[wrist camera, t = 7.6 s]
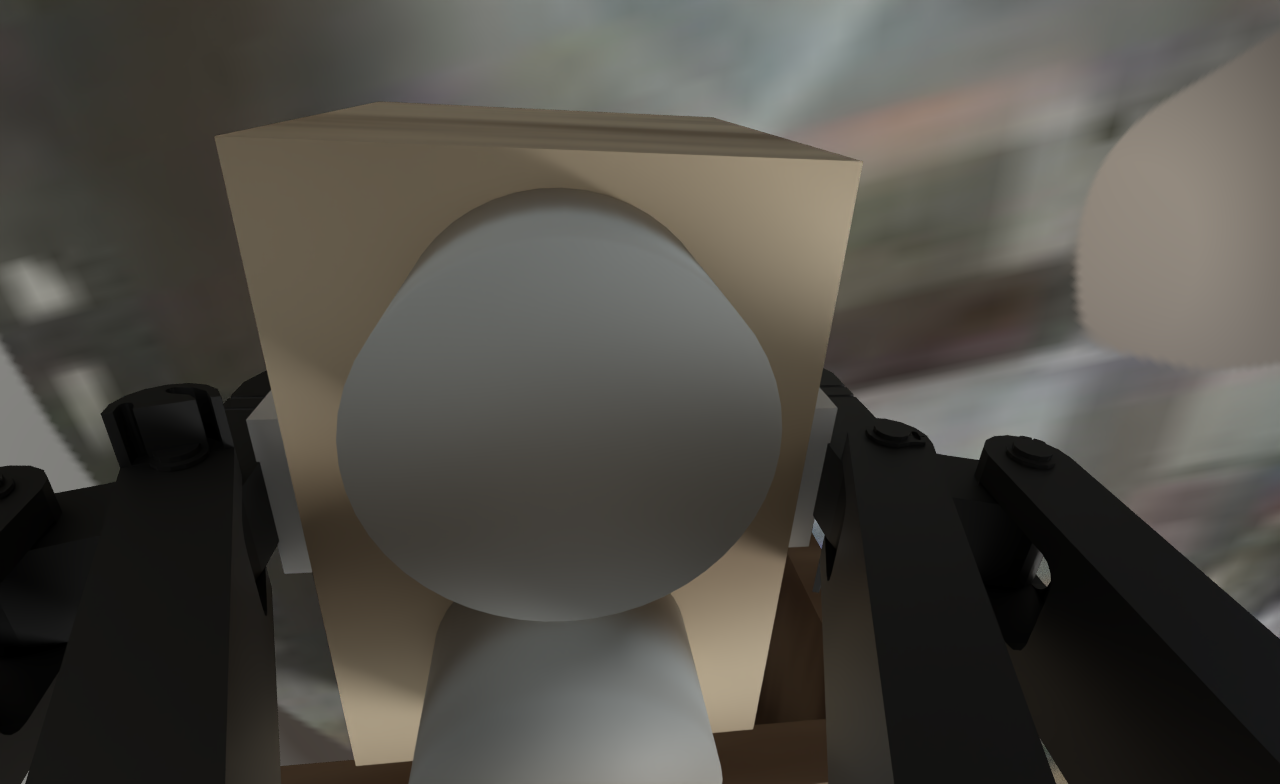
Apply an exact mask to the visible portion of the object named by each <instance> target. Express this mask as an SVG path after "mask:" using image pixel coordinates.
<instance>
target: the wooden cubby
mask: <svg viewBox="0 0 1280 784" xmlns="http://www.w3.org/2000/svg"><path fill="white" fill-rule="evenodd" d="M821 550H822V549H821V548H820V546H819V544H818V542H817V541H816V539H815V537H814V535H813V534H812V533H811V538H810V542H809V546H807V547H788V552H787V557H786V562H785V567H784V572H783V578H782V583H781V588H780V593H779V598H778V603H777V609H776V614H775V619H774V624H773V629H772V634H771V640H770V645H769V650H768V655H767V660H766V665H765V671H764V676H763V681H762V686H761V691H760V696H759V701H758V707H757V712H756V717H755V722H754V727H753V729H750V730H740V731H729V732H718V733H712V734H713V737H714V741H715V745H716V749H717V753H718V757H719V761H720V765H721V771H722V778H723V780H722V784H828V762H827V735H826V708H825V681H824V655H823V628H822V601H821V588H820V591H819V593H816V592H812V591H813V586H814V582H815V577H816V572H817V568H818V563H819V559H820V554H821ZM412 762H413V761H405V762H395V763H384V764H373V765H362V766H356V764H355V760H347V761H335V762H325V763H313V764H300V765H289V766H280V769H281V784H409V778H410V773H411V768H412Z"/></svg>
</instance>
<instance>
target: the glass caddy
mask: <svg viewBox="0 0 1280 784" xmlns="http://www.w3.org/2000/svg"><path fill="white" fill-rule="evenodd" d="M214 138H215V142H216V147H217V151H218V155H219V160H220V164H221V169H222V173H223V178H224V182H225V187H226V191H227V195H228V200H229V204H230V209H231V213H232V218H233V222H234V227H235V231H236V235H237V240H238V244H239V249H240V253H241V258H242V262H243V266H244V271H245V275H246V280H247V284H248V289H249V293H250V298H251V302H252V306H253V311H254V315H255V320H256V324H257V329H258V333H259V338H260V342H261V346H262V351H263V355H264V360H265V364H266V369H267V373H268V378H269V382H270V386H271V391H272V395H273V400H274V404H275V409H276V413H277V418H278V422H279V426H280V431H281V435H282V440H283V444H284V449H285V453H286V458H287V462H288V466H289V471H290V475H291V480H292V484H293V489H294V493H295V498H296V502H297V506H298V511H299V515H300V520H301V524H302V529H303V533H304V537H305V542H306V546H307V551H308V555H309V560H310V564H311V569H312V573H313V577H314V582H315V586H316V591H317V595H318V600H319V604H320V609H321V613H322V617H323V622H324V626H325V631H326V635H327V640H328V644H329V649H330V653H331V657H332V662H333V666H334V671H335V675H336V680H337V684H338V689H339V693H340V697H341V702H342V706H343V711H344V715H345V720H346V724H347V729H348V733H349V737H350V742H351V746H352V751H353V755H354V760H355V764H356V766H362V765H373V764H384V763H395V762H405V761H413V762H412V768H411V773H410V778H409V784H722V780H723V778H722V771H721V765H720V761H719V757H718V753H717V749H716V745H715V741H714V737H713V734H712V733H718V732H729V731H740V730H750V729H753V727H754V722H755V717H756V712H757V707H758V701H759V696H760V691H761V686H762V681H763V676H764V671H765V665H766V660H767V655H768V650H769V645H770V640H771V634H772V629H773V624H774V619H775V614H776V609H777V603H778V598H779V593H780V588H781V583H782V578H783V572H784V567H785V562H786V557H787V552H788V547H789V541H790V536H791V531H792V526H793V521H794V516H795V511H796V505H797V500H798V495H799V490H800V485H801V480H802V474H803V469H804V464H805V459H806V454H807V449H808V443H809V438H810V433H811V428H812V423H813V418H814V412H815V407H816V402H817V397H818V392H819V387H820V381H821V376H822V371H823V366H824V361H825V356H826V350H827V345H828V340H829V335H830V330H831V325H832V320H833V314H834V309H835V304H836V299H837V294H838V289H839V283H840V278H841V273H842V268H843V263H844V258H845V252H846V247H847V242H848V237H849V232H850V227H851V221H852V216H853V211H854V206H855V201H856V196H857V190H858V185H859V180H860V175H861V170H862V165H863V161H860V160H856V159H853V158H849V157H846V156H843V155H839V154H836V153H832V152H829V151H826V150H822V149H819V148H815V147H812V146H808V145H805V144H802V143H798V142H795V141H791V140H788V139H785V138H781V137H778V136H774V135H771V134H767V133H764V132H761V131H757V130H754V129H750V128H747V127H744V126H740V125H737V124H733V123H730V122H726V121H723V120H720V119H716V118H713V117H692V116H672V115H651V114H630V113H609V112H588V111H567V110H546V109H525V108H504V107H483V106H462V105H441V104H421V103H400V102H374V103H370V104H365V105H360V106H355V107H351V108H346V109H341V110H336V111H332V112H327V113H322V114H317V115H312V116H308V117H303V118H298V119H293V120H289V121H284V122H279V123H274V124H270V125H265V126H260V127H255V128H251V129H246V130H241V131H236V132H231V133H227V134H222V135H217V136H214Z"/></svg>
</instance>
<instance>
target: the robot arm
mask: <svg viewBox="0 0 1280 784" xmlns="http://www.w3.org/2000/svg"><path fill="white" fill-rule="evenodd" d="M101 416H102V419H103V421H104V424H105V427H106V430H107V432H108V435H109V438H110V441H111V443H112V446H113V449H114V452H115V455H116V457H117V460H118V463H119V466H120V471H119V474H118V478H117V481H116V482H112V483H108V484H103V485H98V486H92V487H87V488H81V489H76V490H71V491H65V492H60V493H54V492H53V489H52V487H51V484H50V482H49V480H48V477H47V476H46V474H45V472H44V470H41V469H39V468H35V467H32V466H4V467H0V784H21V783H22V781H23V780H24V778H25V776H26V774H27V773H28V771H29V773H28V776H27V780H26V783H25V784H281V769H280V751H279V729H278V707H277V687H276V666H275V645H274V625H273V604H272V587H271V583H270V580H269V576H268V572H267V568H266V564H267V563H268V561H269V559H270V557H271V555H272V554H273V552H274V550H275V548H276V546H278V550H279V554H280V558H281V562H282V566H283V570H284V574H291V573H310V572H312V569H311V564H310V560H309V555H308V551H307V546H306V542H305V537H304V533H303V529H302V524H301V520H300V515H299V511H298V506H297V502H296V498H295V493H294V489H293V484H292V480H291V475H290V471H289V466H288V462H287V458H286V453H285V449H284V444H283V440H282V435H281V431H280V426H279V422H278V418H277V413H276V409H275V404H274V400H273V395H272V391H271V386H270V382H269V378H268V373H267V370H266V371H265V372H263V373H261V374H259V375H257V376H255V377H253V378H251V379H249V380H247V381H245V382H244V383H243V384H242V385H241V386H240V387H239V388H238V389H237V390H236V391H235V392H234V393H233V394H232V395H231V399H227V401H226V402H225V403H224V404H223V402H222V398H221V395H220V393H219V391H218V389H216V388H213V387H211V386H208V385H204V384H193V383H184V384H170V385H164V386H159V387H154V388H149V389H144V390H141V391H138V392H135V393H132V394H130V395H127V396H124V397H122V398H120V399H119V400H117V401H115V402H113V403H111V404H109V405H108V406H107V407H106V409H105V410H104V411H103V412H102V413H101ZM814 518H815V519H816V521H817V523H818V524H819V526H820V528H821V529H822V531H823V533H824V534H825V536H824V541H823V545H822V550H821V554H820V559H819V563H818V568H817V572H816V577H815V582H814V586H813V591H812V592H816V593H819V591H820V588H821V601H822V628H823V655H824V681H825V708H826V735H827V762H828V784H1056V782H1055V780H1054V777H1053V774H1052V771H1051V769H1050V766H1049V763H1048V760H1047V757H1046V755H1045V752H1044V749H1043V746H1042V744H1041V741H1040V739H1041V740H1042V742H1043V744H1044V745H1045V747H1046V748H1047V750H1048V752H1049V753H1050V755H1051V757H1052V758H1053V760H1054V761H1055V763H1056V765H1057V766H1058V768H1059V769H1060V771H1061V773H1062V774H1063V776H1064V778H1065V779H1066V781H1067V782H1068V784H1280V639H1279V638H1278V637H1277V636H1275V635H1274V634H1273V633H1272V632H1271V631H1270V630H1269V629H1267V628H1266V627H1265V626H1264V625H1263V624H1262V623H1261V622H1259V621H1258V620H1257V619H1256V618H1255V617H1254V616H1252V615H1251V614H1250V613H1249V612H1248V611H1247V610H1246V609H1244V608H1243V607H1242V606H1241V605H1240V604H1239V603H1237V602H1236V601H1235V600H1234V599H1233V598H1232V597H1231V596H1229V595H1228V594H1227V593H1226V592H1225V591H1224V590H1222V589H1221V588H1220V587H1219V586H1218V585H1217V584H1216V583H1214V582H1213V581H1212V580H1211V579H1210V578H1209V577H1208V576H1206V575H1205V574H1204V573H1203V572H1202V571H1201V570H1199V569H1198V568H1197V567H1196V566H1195V565H1194V564H1193V563H1191V562H1190V561H1189V560H1188V559H1187V558H1186V557H1184V556H1183V555H1182V554H1181V553H1180V552H1179V551H1178V550H1176V549H1175V548H1174V547H1173V546H1172V545H1171V544H1170V543H1168V542H1167V541H1166V540H1165V539H1164V538H1163V537H1161V536H1160V535H1159V534H1158V533H1157V532H1156V531H1155V530H1153V529H1152V528H1151V527H1150V526H1149V525H1148V524H1146V523H1145V522H1144V521H1143V520H1142V519H1141V518H1140V517H1138V516H1137V515H1136V514H1135V513H1134V512H1133V511H1131V510H1130V509H1129V508H1128V507H1127V506H1126V505H1125V504H1123V503H1122V502H1121V501H1120V500H1119V499H1118V498H1117V497H1115V496H1114V495H1113V494H1112V493H1111V492H1110V491H1108V490H1107V489H1106V488H1105V487H1104V486H1103V485H1102V484H1100V483H1099V482H1098V481H1097V480H1096V479H1095V478H1093V477H1092V476H1091V475H1090V474H1089V473H1088V472H1087V471H1085V470H1084V469H1083V468H1082V467H1081V466H1080V465H1078V464H1077V463H1076V462H1075V461H1074V460H1073V459H1072V458H1070V457H1069V456H1067V455H1066V454H1064V453H1063V452H1061V451H1060V450H1058V449H1056V448H1054V447H1051V446H1049V445H1047V444H1046V443H1045V442H1043V441H1041V440H1037V439H1033V440H1032V438H1030V437H1026V436H1020V437H1017V436H1009V435H1005V436H994V437H992V438H990V439H987V440H986V441H985V444H984V447H983V450H982V453H981V456H980V459H979V460H974V459H967V458H960V457H954V456H947V455H941V454H936V451H935V449H934V446H933V443H932V442H931V441H930V439H929V438H928V437H927V436H926V435H925V434H923V433H922V432H920V431H919V430H917V429H916V428H914V427H911V426H909V425H906V424H904V423H901V422H897V421H893V420H888V419H880V418H875V417H874V415H873V414H872V413H871V412H870V411H869V410H868V409H867V408H866V407H865V406H864V405H863V404H862V403H861V402H860V401H859V400H858V399H857V398H856V397H853V394H852V393H851V391H850V390H849V389H848V388H847V387H844V384H843V383H842V382H841V381H840V380H839V379H838V378H837V377H836V376H835V375H834V374H833V373H832V372H830V371H828V370H826V369H824V368H823V371H822V376H821V381H820V387H819V392H818V397H817V402H816V407H815V412H814V418H813V423H812V428H811V433H810V438H809V443H808V449H807V454H806V459H805V464H804V469H803V474H802V480H801V485H800V490H799V495H798V500H797V505H796V511H795V516H794V521H793V526H792V531H791V536H790V541H789V547H807V546H809V542H810V538H811V533H812V528H813V523H814ZM1043 556H1044V558H1045V559H1046V561H1047V563H1048V566H1049V569H1050V573H1051V582H1050V583H1049V585H1048V586H1045V585H1044V584H1043V582H1042V581H1041V580H1040V579H1039V578H1038V576H1037V575H1036V573H1037V570H1038V568H1039V566H1040V563H1041V561H1042V558H1043ZM1039 737H1040V738H1039Z"/></svg>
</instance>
